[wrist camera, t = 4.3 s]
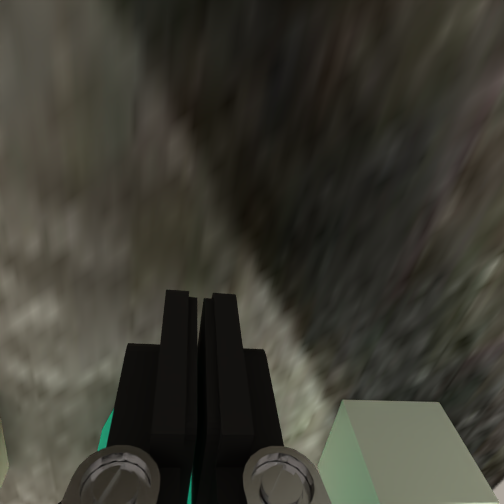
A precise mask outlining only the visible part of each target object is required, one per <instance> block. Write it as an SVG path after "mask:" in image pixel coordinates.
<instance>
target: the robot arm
mask: <svg viewBox="0 0 504 504" xmlns="http://www.w3.org/2000/svg"><path fill="white" fill-rule="evenodd" d="M191 473H192V483H191V504H332V503H331V501H330V498H329V496H328V493H327V491H326V489H325V486H324V484H323V481H322V479H321V476H320V474H319V473H318V471H317V469H316V468H315V466H314V464H313V463H312V462H311V461H310V460H309V459H308V458H307V457H306V456H304V455H303V454H301V453H299V452H298V451H296V450H294V449H291V448H288V447H284V444H283V439H282V434H281V429H280V424H279V419H278V414H277V408H276V403H275V398H274V393H273V388H272V383H271V378H270V373H269V368H268V363H267V357H266V354H265V351H264V350H263V349H244V348H243V345H242V338H241V330H240V323H239V315H238V308H237V300H236V295H235V294H222V293H213V295H212V299H208V298H204V301H203V308H202V316H201V324H200V331H199V339H198V347H197V298H193V297H189V291H177V290H166V297H165V306H164V315H163V324H162V334H161V343H160V345H156V344H134V343H128V345H127V348H126V353H125V357H124V362H123V367H122V372H121V377H120V382H119V387H118V392H117V397H116V401H115V406H114V411H113V416H112V421H111V426H110V431H109V436H108V440H107V445H106V448H103V449H101V450H99V451H97V452H95V453H93V454H92V455H90V456H89V457H88V458H87V459H86V460H85V461H83V462H82V463H81V464H80V465H79V467H78V468H77V470H76V472H75V473H74V475H73V477H72V479H71V481H70V483H69V486H68V488H67V490H66V493H65V495H64V497H63V500H62V501H61V502H60V503H58V504H187V500H188V493H189V486H190V480H191Z"/></svg>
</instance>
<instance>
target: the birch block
mask: <svg viewBox="0 0 504 504" xmlns="http://www.w3.org/2000/svg"><path fill="white" fill-rule="evenodd" d="M8 469H9V462H8V457H7V451H6V445H5V440H4V434H3V428H2V423H1V417H0V489H1V486H2V484H3V481H4V479H5V476H6V474H7V471H8Z"/></svg>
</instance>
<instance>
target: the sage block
mask: <svg viewBox="0 0 504 504" xmlns="http://www.w3.org/2000/svg"><path fill="white" fill-rule="evenodd" d="M318 469H319V473H320V476H321V479H322V481H323V484H324V486H325V489H326V491H327V493H328V496H329V498H330V501H331V503H332V504H499V501H498V499H497V498H496V496H495V494H494V493H493V491H492V489H491V488H490V486H489V484H488V483H487V481H486V479H485V478H484V476H483V474H482V473H481V471H480V469H479V468H478V466H477V464H476V463H475V461H474V459H473V458H472V456H471V454H470V453H469V451H468V449H467V448H466V446H465V444H464V443H463V441H462V439H461V438H460V436H459V434H458V433H457V431H456V429H455V428H454V426H453V424H452V423H451V421H450V419H449V418H448V416H447V415H446V413H445V411H444V410H443V408H442V406H441V405H440V403H439V402H413V401H374V400H342V402H341V405H340V408H339V410H338V413H337V416H336V418H335V421H334V424H333V426H332V429H331V432H330V434H329V437H328V440H327V442H326V445H325V448H324V450H323V453H322V456H321V458H320V461H319V464H318Z"/></svg>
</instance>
